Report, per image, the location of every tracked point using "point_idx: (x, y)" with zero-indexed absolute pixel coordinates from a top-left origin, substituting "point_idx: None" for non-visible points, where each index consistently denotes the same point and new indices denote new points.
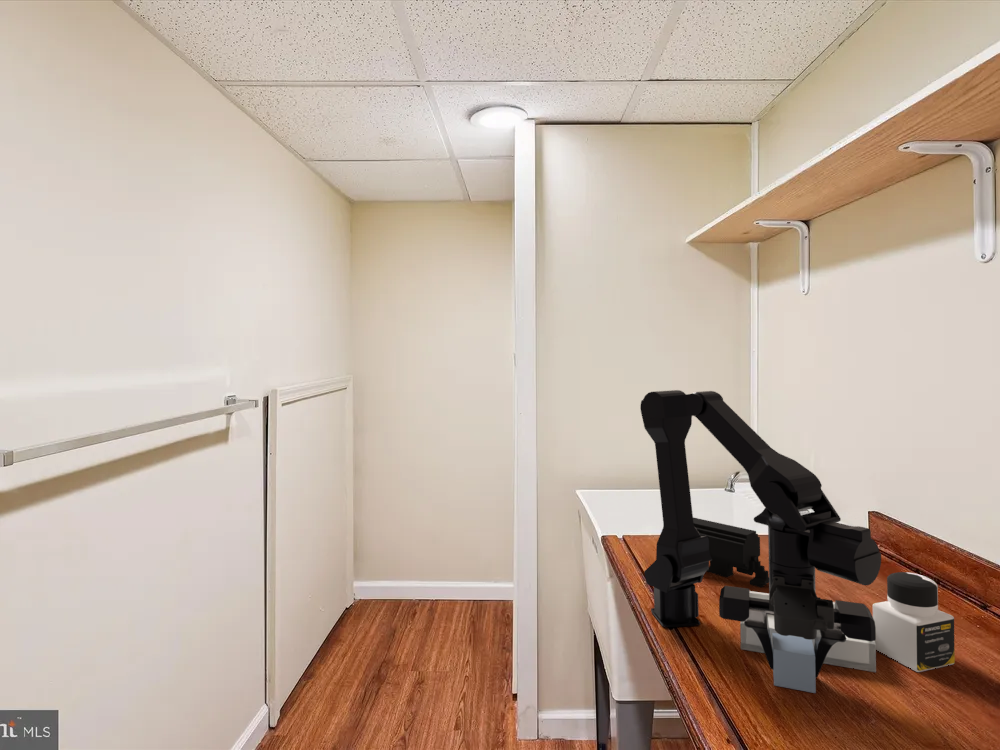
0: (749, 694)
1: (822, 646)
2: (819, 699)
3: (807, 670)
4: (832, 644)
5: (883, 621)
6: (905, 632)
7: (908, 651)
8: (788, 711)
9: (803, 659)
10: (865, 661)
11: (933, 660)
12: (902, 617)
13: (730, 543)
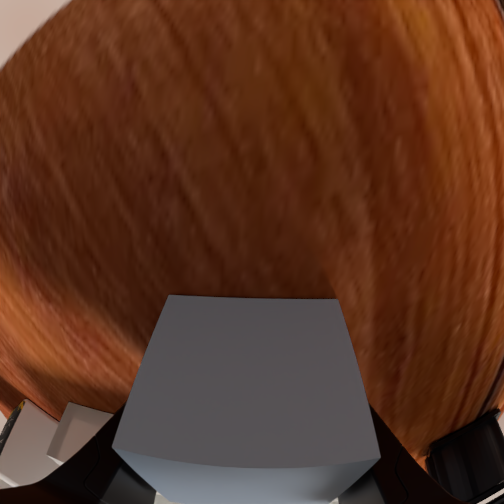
0: (450, 196)
1: (82, 488)
2: (152, 258)
3: (177, 374)
4: (29, 486)
5: None
6: (21, 463)
7: (28, 433)
8: (299, 95)
9: (186, 430)
10: (77, 424)
11: (13, 414)
12: None
13: None
